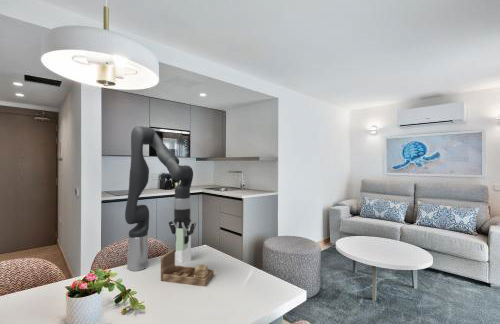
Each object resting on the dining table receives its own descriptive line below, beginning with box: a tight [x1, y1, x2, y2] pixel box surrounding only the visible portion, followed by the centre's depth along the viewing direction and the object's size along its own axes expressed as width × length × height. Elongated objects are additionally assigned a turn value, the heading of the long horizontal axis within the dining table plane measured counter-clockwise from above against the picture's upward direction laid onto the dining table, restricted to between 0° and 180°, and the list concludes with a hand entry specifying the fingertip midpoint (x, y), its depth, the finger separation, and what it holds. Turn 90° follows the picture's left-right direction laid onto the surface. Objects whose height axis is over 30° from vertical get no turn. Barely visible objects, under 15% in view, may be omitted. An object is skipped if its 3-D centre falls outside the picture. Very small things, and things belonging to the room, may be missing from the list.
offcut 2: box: [194, 271, 209, 279], centre depth 116 cm, size 5×6×3 cm
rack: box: [160, 249, 215, 287], centre depth 118 cm, size 22×11×12 cm, turn 76°
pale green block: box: [175, 228, 188, 251], centre depth 119 cm, size 4×5×10 cm
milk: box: [175, 227, 192, 264], centre depth 140 cm, size 6×6×22 cm
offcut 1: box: [195, 264, 209, 276], centre depth 116 cm, size 4×5×3 cm
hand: (182, 242), depth 119 cm, fingers closed on pale green block, 3 cm apart
